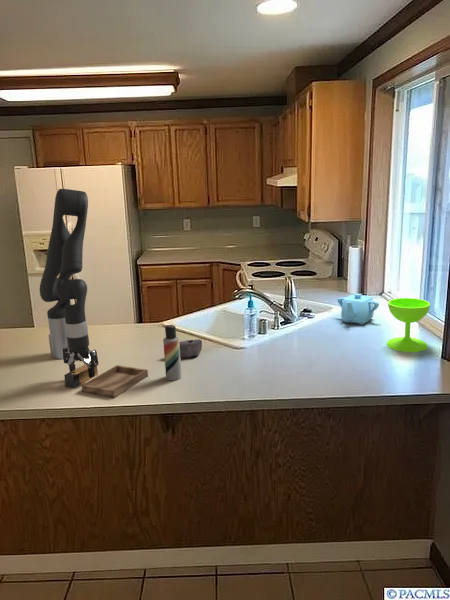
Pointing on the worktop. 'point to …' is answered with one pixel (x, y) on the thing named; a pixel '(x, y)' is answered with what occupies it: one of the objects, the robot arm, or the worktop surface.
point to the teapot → (357, 308)
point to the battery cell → (78, 376)
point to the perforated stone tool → (190, 348)
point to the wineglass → (408, 322)
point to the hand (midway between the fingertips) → (82, 375)
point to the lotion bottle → (172, 353)
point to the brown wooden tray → (115, 381)
